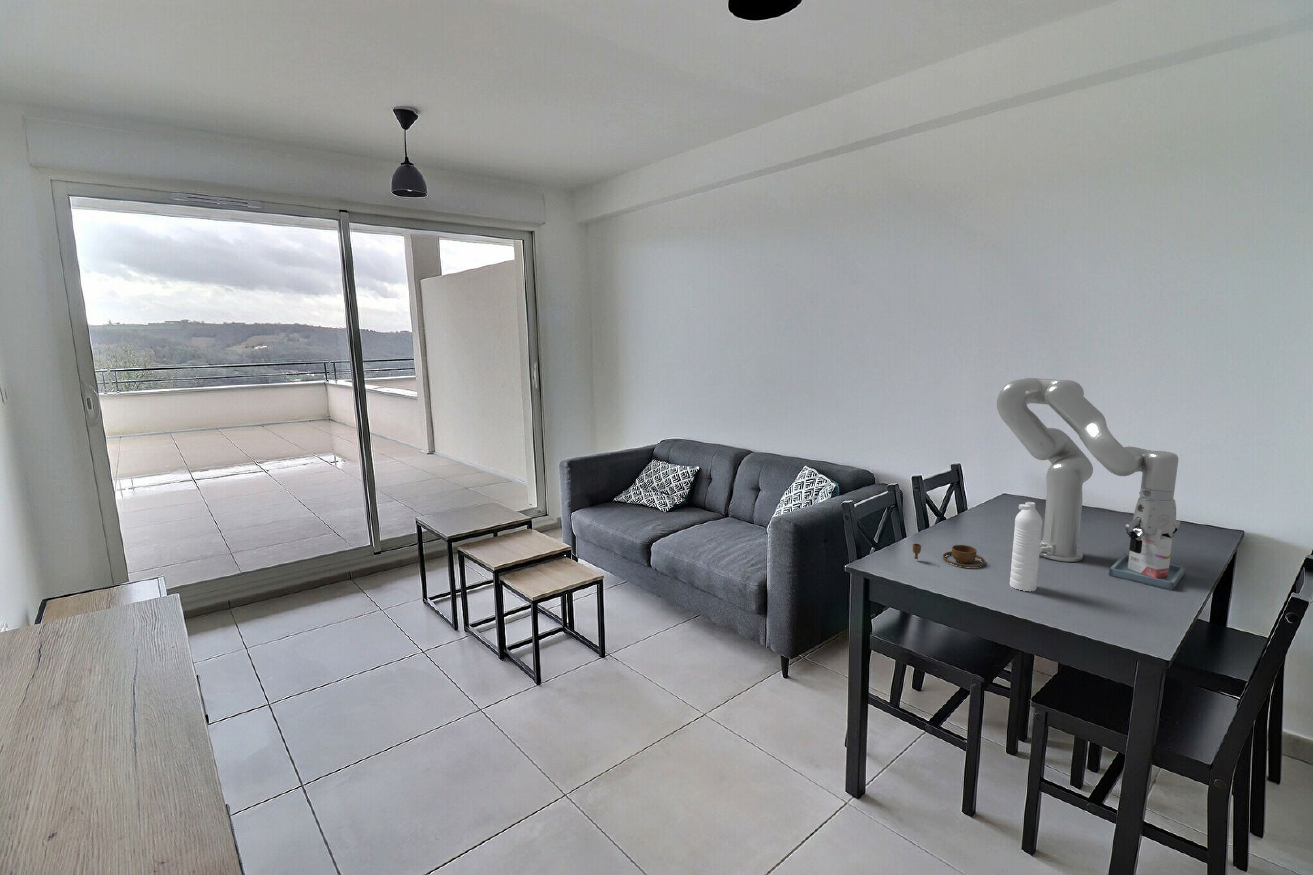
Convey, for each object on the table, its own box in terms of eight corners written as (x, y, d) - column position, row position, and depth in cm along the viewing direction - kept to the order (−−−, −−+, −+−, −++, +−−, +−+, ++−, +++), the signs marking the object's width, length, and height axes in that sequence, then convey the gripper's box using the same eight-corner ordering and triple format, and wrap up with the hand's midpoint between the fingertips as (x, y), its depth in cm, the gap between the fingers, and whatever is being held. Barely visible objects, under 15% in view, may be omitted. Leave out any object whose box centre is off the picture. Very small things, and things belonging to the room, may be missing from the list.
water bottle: (1014, 580, 177) (1022, 497, 173) (1039, 587, 172) (1047, 502, 168) (1002, 589, 172) (1009, 503, 167) (1027, 596, 167) (1035, 508, 163)
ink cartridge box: (1169, 577, 176) (1175, 528, 173) (1155, 579, 175) (1162, 530, 172) (1139, 566, 184) (1145, 519, 182) (1126, 568, 183) (1132, 521, 180)
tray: (1172, 590, 169) (1173, 583, 168) (1108, 575, 179) (1109, 568, 179) (1184, 574, 179) (1185, 567, 179) (1123, 560, 190) (1124, 554, 190)
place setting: (980, 576, 182) (982, 558, 181) (909, 563, 193) (910, 546, 192) (987, 558, 196) (989, 540, 195) (921, 546, 207) (922, 530, 206)
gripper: (1142, 499, 170) (1135, 557, 173) (1195, 495, 173) (1187, 553, 176) (1118, 492, 177) (1112, 548, 180) (1169, 489, 180) (1162, 544, 183)
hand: (1149, 550), depth 178 cm, fingers open, 9 cm apart
